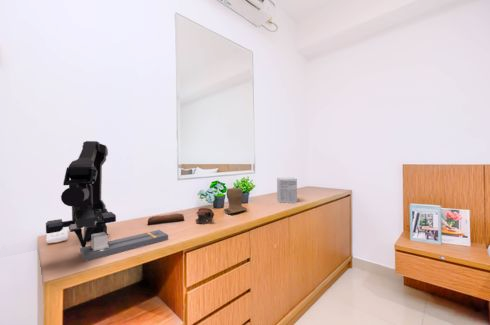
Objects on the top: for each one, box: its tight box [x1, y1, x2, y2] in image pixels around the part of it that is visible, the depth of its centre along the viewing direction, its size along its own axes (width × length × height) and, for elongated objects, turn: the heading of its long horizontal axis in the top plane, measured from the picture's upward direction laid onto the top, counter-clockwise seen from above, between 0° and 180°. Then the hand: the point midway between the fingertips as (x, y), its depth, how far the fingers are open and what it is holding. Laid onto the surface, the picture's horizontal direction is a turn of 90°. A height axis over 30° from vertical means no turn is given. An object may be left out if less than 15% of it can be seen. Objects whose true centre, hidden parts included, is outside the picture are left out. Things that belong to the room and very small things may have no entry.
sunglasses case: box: [147, 212, 185, 226], centre depth 119 cm, size 18×7×7 cm
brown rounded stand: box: [223, 187, 248, 215], centre depth 138 cm, size 15×12×15 cm
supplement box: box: [276, 177, 298, 204], centre depth 171 cm, size 13×13×18 cm
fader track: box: [79, 229, 169, 262], centre depth 85 cm, size 28×9×2 cm, turn 133°
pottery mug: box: [195, 207, 215, 225], centre depth 117 cm, size 12×10×8 cm
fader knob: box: [89, 232, 109, 251], centre depth 79 cm, size 4×6×4 cm
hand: (83, 246), depth 76 cm, fingers closed
